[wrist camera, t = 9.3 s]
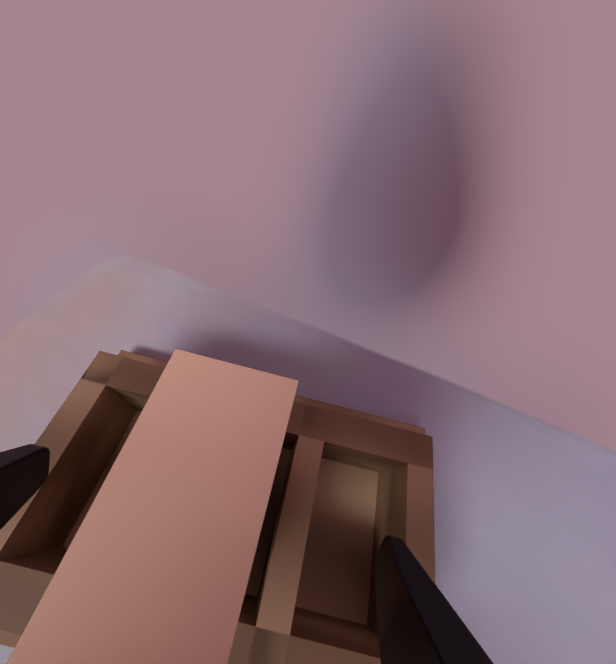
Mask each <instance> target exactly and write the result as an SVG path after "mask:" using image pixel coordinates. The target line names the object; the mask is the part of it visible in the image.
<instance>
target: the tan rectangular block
mask: <svg viewBox="0 0 616 664" xmlns="http://www.w3.org/2000/svg"><path fill="white" fill-rule="evenodd" d="M297 385H298V380H294V379H290V378H286V377H283V376H279V375H275V374H271V373H267V372H263V371H259V370H256V369H252V368H248V367H244V366H240V365H236V364H233V363H229V362H225V361H221V360H217V359H213V358H209V357H206V356H202V355H198V354H194V353H190V352H186V351H183V350H179V349H175V351H174V352H173V354H172V356H171V358H170V360H169V362H168V364H167V366H166V367H165V369H164V371H163V373H162V375H161V377H160V379H159V380H158V382H157V384H156V386H155V388H154V390H153V392H152V393H151V395H150V397H149V399H148V401H147V403H146V405H145V406H144V408H143V410H142V412H141V414H140V416H139V418H138V420H137V421H136V423H135V425H134V427H133V429H132V431H131V433H130V434H129V436H128V438H127V440H126V442H125V444H124V446H123V447H122V449H121V451H120V453H119V455H118V457H117V459H116V461H115V462H114V464H113V466H112V468H111V470H110V472H109V474H108V475H107V477H106V479H105V481H104V483H103V485H102V487H101V488H100V490H99V492H98V494H97V496H96V498H95V500H94V501H93V503H92V505H91V507H90V509H89V511H88V513H87V515H86V516H85V518H84V520H83V522H82V524H81V526H80V528H79V529H78V531H77V533H76V535H75V537H74V539H73V541H72V542H71V544H70V546H69V548H68V550H67V552H66V554H65V556H64V557H63V559H62V561H61V563H60V565H59V567H58V569H57V570H56V572H55V574H54V576H53V578H52V580H51V582H50V583H49V585H48V587H47V589H46V591H45V593H44V595H43V596H42V598H41V600H40V602H39V604H38V606H37V608H36V610H35V611H34V613H33V615H32V617H31V619H30V621H29V623H28V624H27V626H26V628H25V630H24V632H23V634H22V636H21V637H20V639H19V641H18V643H17V645H16V647H15V649H14V651H13V652H12V654H11V656H10V658H9V660H8V662H7V664H227V663H228V659H229V655H230V651H231V647H232V643H233V639H234V635H235V631H236V627H237V623H238V619H239V615H240V611H241V607H242V603H243V599H244V596H245V592H246V588H247V584H248V580H249V576H250V572H251V568H252V564H253V560H254V556H255V552H256V548H257V544H258V540H259V536H260V532H261V528H262V524H263V520H264V516H265V512H266V508H267V504H268V500H269V496H270V492H271V488H272V484H273V481H274V477H275V473H276V469H277V465H278V461H279V457H280V453H281V449H282V445H283V441H284V437H285V433H286V429H287V425H288V421H289V417H290V413H291V409H292V405H293V401H294V397H295V393H296V389H297Z"/></svg>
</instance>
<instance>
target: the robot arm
mask: <svg viewBox="0 0 616 664" xmlns="http://www.w3.org/2000/svg"><path fill="white" fill-rule="evenodd" d="M49 463H50V450H49V448H47V447H44V446H40V445H36V444H29V445H25V446H22V447H18V448H14V449H11V450H7V451H4V452H0V530H1V529H2V528H3V527H4V526H5V525H6V524H7V523H8V521H9V520H10V519H11V518H12V517H13V516H14V515H15V514H16V513H17V512H18V511H19V510H20V509H21V508H22V507H23V505H24V504H25V503H26V502H27V501H28V500H29V499H30V498H31V497H32V496H33V495H34V494H35V493H36V492H37V491H38V489H39V488H40V487H41V486H42V485H43V484H44V483H45V481H46V479H47V477H48V475H49ZM375 586H376V605H377V624H378V641H379V651H380V660H381V664H493V662H492V661H491V660H490V658H489V657H488V655H487V654H486V653H485V651H484V650H483V649H482V647H481V646H480V645H479V643H478V642H477V640H476V639H475V638H474V636H473V635H472V634H471V632H470V631H469V630H468V628H467V627H466V625H465V624H464V623H463V621H462V620H461V619H460V617H459V616H458V615H457V613H456V612H455V610H454V609H453V608H452V606H451V605H450V604H449V602H448V601H447V600H446V598H445V597H444V595H443V594H442V593H441V591H440V590H439V589H438V587H437V586H436V585H435V583H434V582H433V580H432V579H431V578H430V576H429V575H428V574H427V572H426V571H425V570H424V568H423V567H422V565H421V564H420V563H419V561H418V560H417V559H416V557H415V556H414V555H413V553H412V552H411V550H410V549H409V548H408V546H407V545H406V544H405V542H404V541H403V540H402V539H401V538H398V537H395V536H391V535H386V536H385V537H384V539H383V541H382V544H381V546H380V549H379V551H378V554H377V557H376V560H375Z"/></svg>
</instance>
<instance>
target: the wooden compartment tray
mask: <svg viewBox="0 0 616 664" xmlns="http://www.w3.org/2000/svg"><path fill="white" fill-rule="evenodd" d="M167 364H168V362H165V361H161V360H158V359H154V358H150V357H146V356H142V355H138V354H134V353H131V352H127V351H123V350H121V351H120V353H119V354H118V355H114V354H110V353H106V352H102V351H99V353H98V354H97V356H96V357H95V359H94V360H93V361H92V363H91V364H90V366H89V367H88V369H87V370H86V371H85V373H84V374H83V376H82V377H81V379H80V380H79V382H78V383H77V384H76V386H75V387H74V389H73V390H72V392H71V393H70V394H69V396H68V397H67V399H66V400H65V402H64V403H63V405H62V406H61V407H60V409H59V410H58V412H57V413H56V415H55V416H54V417H53V419H52V420H51V422H50V423H49V425H48V426H47V427H46V429H45V430H44V432H43V433H42V435H41V436H40V438H39V439H38V440H37V442H36V443H35V444H36V445H40V446H44V447H47V448H49V450H50V463H49V475H48V477H47V479H46V481H45V483H44V484H43V485H42V486H41V487H40V488H39V489H38V491H37V492H36V493H35V494H34V495H33V496H32V497H31V498H30V499H29V500H28V501H27V502H26V503H25V504H24V505H23V507H22V508H21V509H20V510H19V511H18V512H17V513H16V514H15V515H14V516H13V517H12V518H11V519H10V520H9V521H8V523H7V524H6V525H5V526H4V527H3V528H2V529H1V530H0V644H2V645H6V646H10V647H14V648H15V647H16V645H17V643H18V641H19V639H20V637H21V636H22V634H23V632H24V630H25V628H26V626H27V624H28V623H29V621H30V619H31V617H32V615H33V613H34V611H35V610H36V608H37V606H38V604H39V602H40V600H41V598H42V596H43V595H44V593H45V591H46V589H47V587H48V585H49V583H50V582H51V580H52V578H53V576H54V574H55V572H56V570H57V569H58V567H59V565H60V563H61V561H62V559H63V557H64V556H65V554H66V552H67V550H68V548H69V546H70V544H71V542H72V541H73V539H74V537H75V535H76V533H77V531H78V529H79V528H80V526H81V524H82V522H83V520H84V518H85V516H86V515H87V513H88V511H89V509H90V507H91V505H92V503H93V501H94V500H95V498H96V496H97V494H98V492H99V490H100V488H101V487H102V485H103V483H104V481H105V479H106V477H107V475H108V474H109V472H110V470H111V468H112V466H113V464H114V462H115V461H116V459H117V457H118V455H119V453H120V451H121V449H122V447H123V446H124V444H125V442H126V440H127V438H128V436H129V434H130V433H131V431H132V429H133V427H134V425H135V423H136V421H137V420H138V418H139V416H140V414H141V412H142V410H143V408H144V406H145V405H146V403H147V401H148V399H149V397H150V395H151V393H152V392H153V390H154V388H155V386H156V384H157V382H158V380H159V379H160V377H161V375H162V373H163V371H164V369H165V367H166V366H167ZM386 535H391V536H395V537H398V538H401V539H402V540H403V541H404V542H405V544H406V545H407V546H408V548H409V549H410V550H411V552H412V553H413V555H414V556H415V557H416V559H417V560H418V561H419V563H420V564H421V565H422V567H423V568H424V570H425V571H426V572H427V574H428V575H429V576H430V578H431V579H432V580H433V582H434V583H435V554H434V499H433V444H432V437H431V436H427V435H425V429H424V428H420V427H417V426H413V425H409V424H405V423H401V422H397V421H393V420H390V419H386V418H382V417H378V416H374V415H370V414H366V413H362V412H359V411H355V410H351V409H347V408H343V407H339V406H335V405H332V404H328V403H324V402H320V401H316V400H312V399H308V398H304V397H301V396H297V395H295V397H294V401H293V405H292V409H291V413H290V417H289V421H288V425H287V429H286V433H285V437H284V441H283V445H282V449H281V453H280V457H279V461H278V465H277V469H276V473H275V477H274V481H273V484H272V488H271V492H270V496H269V500H268V504H267V508H266V512H265V516H264V520H263V524H262V528H261V532H260V536H259V540H258V544H257V548H256V552H255V556H254V560H253V564H252V568H251V572H250V576H249V580H248V584H247V588H246V592H245V596H244V599H243V603H242V607H241V611H240V615H239V619H238V623H237V627H236V631H235V635H234V639H233V643H232V647H231V651H230V655H229V659H228V663H227V664H381V660H380V651H379V641H378V624H377V605H376V586H375V560H376V557H377V554H378V551H379V549H380V546H381V544H382V541H383V539H384V537H385V536H386Z"/></svg>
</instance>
